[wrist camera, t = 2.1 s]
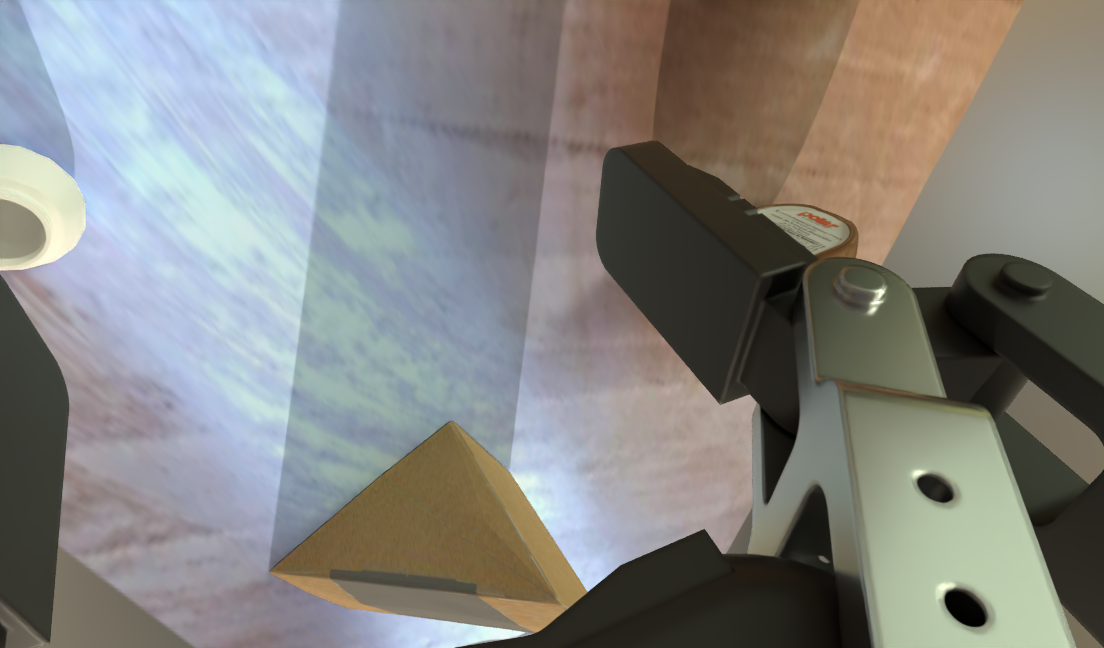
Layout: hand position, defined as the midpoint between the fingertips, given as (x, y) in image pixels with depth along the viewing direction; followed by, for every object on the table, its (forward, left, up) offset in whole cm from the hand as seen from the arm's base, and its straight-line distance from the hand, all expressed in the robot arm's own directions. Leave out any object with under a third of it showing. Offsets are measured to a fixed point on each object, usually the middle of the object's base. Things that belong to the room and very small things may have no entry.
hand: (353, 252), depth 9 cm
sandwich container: (+10, +32, -23) cm, 40 cm away
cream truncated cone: (+11, +3, -23) cm, 26 cm away
